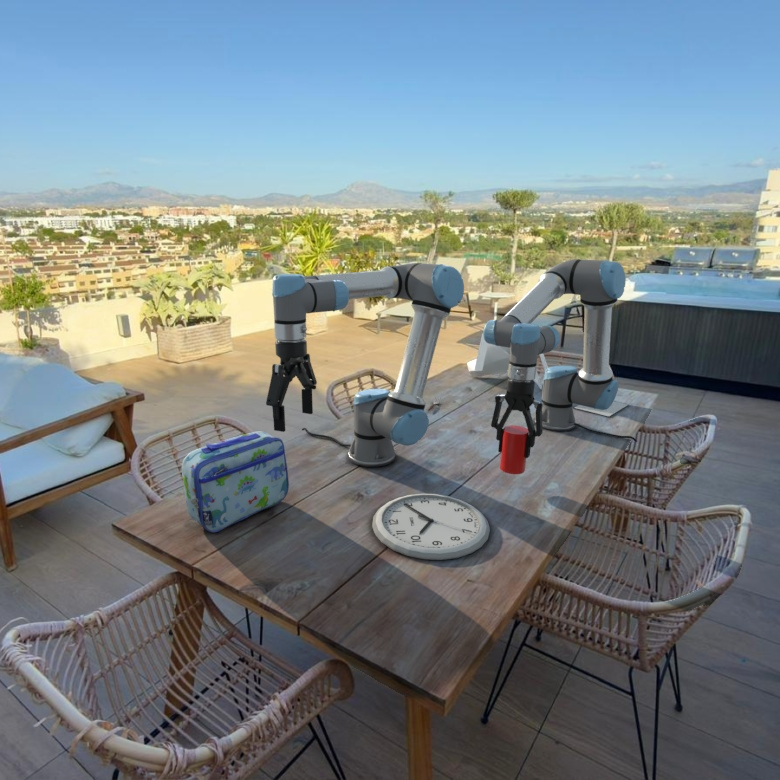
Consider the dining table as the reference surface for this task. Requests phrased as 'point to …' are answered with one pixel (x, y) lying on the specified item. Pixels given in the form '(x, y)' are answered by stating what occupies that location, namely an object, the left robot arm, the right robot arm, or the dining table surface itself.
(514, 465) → the can
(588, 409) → the invitation card
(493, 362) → the white plastic object
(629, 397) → the dining table surface
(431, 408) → the fork
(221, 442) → the lunch box
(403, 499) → the wall clock
